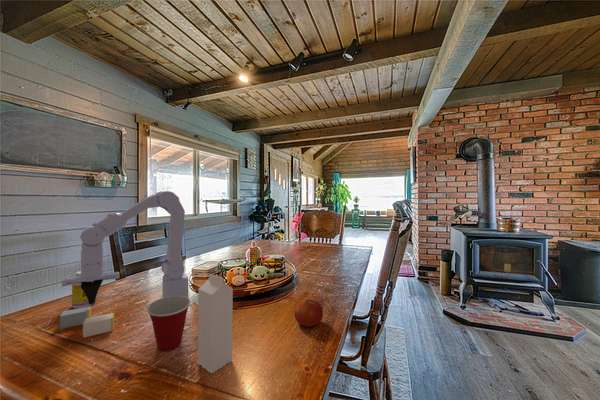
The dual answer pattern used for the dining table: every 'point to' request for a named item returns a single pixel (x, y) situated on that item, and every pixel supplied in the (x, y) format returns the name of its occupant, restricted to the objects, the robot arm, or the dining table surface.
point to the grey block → (74, 317)
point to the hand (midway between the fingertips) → (92, 303)
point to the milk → (214, 324)
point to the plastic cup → (168, 320)
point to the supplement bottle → (79, 295)
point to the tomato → (308, 313)
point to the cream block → (98, 325)
